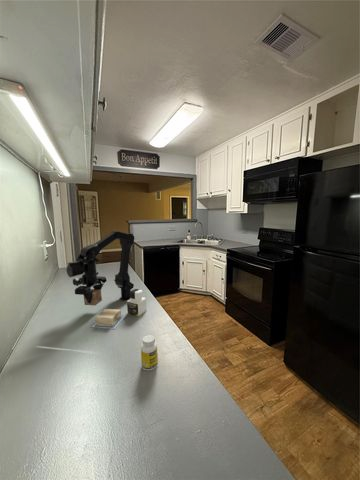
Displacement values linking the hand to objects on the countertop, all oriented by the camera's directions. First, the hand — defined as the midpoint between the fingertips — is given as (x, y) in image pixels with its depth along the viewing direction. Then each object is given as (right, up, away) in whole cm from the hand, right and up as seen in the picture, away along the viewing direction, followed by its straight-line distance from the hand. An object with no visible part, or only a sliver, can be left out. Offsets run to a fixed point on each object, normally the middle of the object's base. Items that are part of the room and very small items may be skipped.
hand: (93, 300), depth 104 cm
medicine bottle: (+23, -6, 0) cm, 24 cm away
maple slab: (+12, -7, -9) cm, 16 cm away
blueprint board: (+12, -8, -9) cm, 17 cm away
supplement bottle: (+35, -11, -37) cm, 52 cm away
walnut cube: (0, -1, 0) cm, 1 cm away
